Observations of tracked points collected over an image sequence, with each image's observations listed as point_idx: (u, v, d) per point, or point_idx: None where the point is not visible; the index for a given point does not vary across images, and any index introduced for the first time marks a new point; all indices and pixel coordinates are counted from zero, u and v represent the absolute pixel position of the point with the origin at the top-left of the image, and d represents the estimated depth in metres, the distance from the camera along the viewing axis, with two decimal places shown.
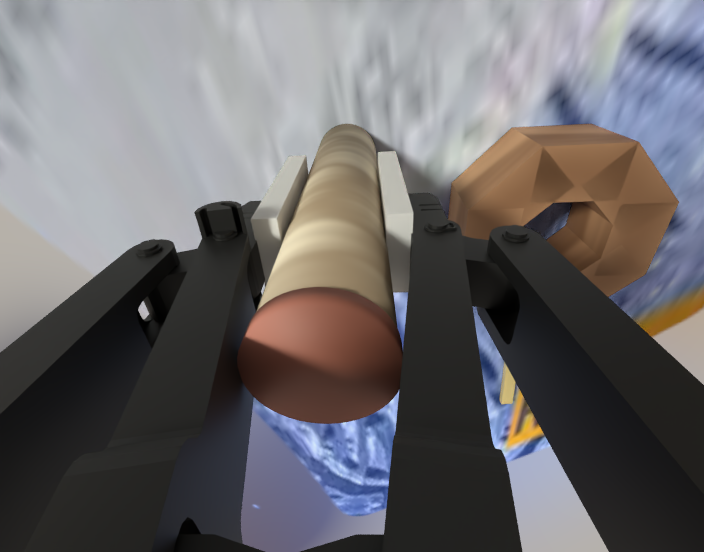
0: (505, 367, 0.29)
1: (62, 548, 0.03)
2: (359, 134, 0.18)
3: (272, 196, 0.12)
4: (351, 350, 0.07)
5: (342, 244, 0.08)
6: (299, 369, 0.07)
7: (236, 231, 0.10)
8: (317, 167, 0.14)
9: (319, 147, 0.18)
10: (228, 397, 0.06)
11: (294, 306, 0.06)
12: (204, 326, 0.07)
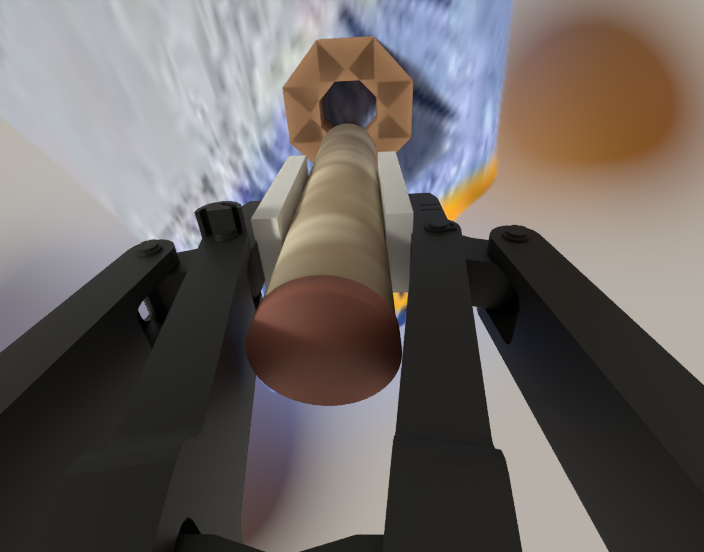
0: None
1: (62, 548, 0.03)
2: (359, 133, 0.19)
3: (272, 196, 0.12)
4: (352, 334, 0.07)
5: (343, 237, 0.09)
6: (303, 352, 0.08)
7: (236, 231, 0.10)
8: (319, 165, 0.15)
9: (320, 146, 0.19)
10: (228, 397, 0.06)
11: (299, 292, 0.07)
12: (204, 326, 0.07)
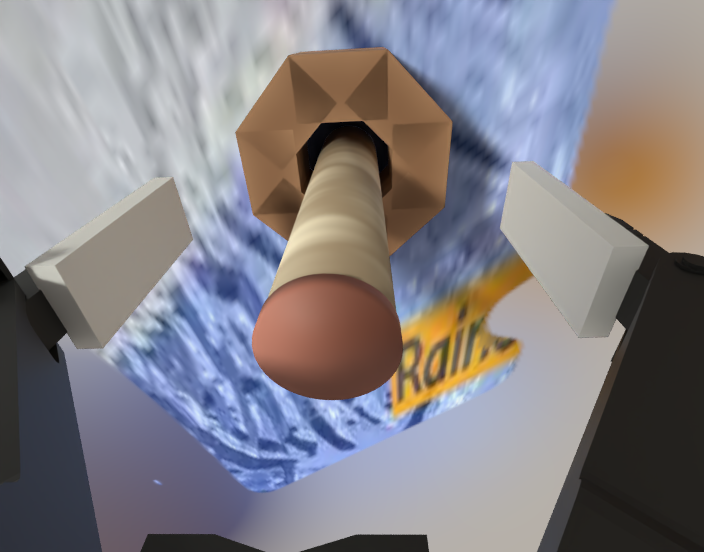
0: None
1: None
2: (360, 135, 0.19)
3: (81, 233, 0.10)
4: (355, 330, 0.08)
5: (346, 236, 0.09)
6: (307, 348, 0.08)
7: None
8: (321, 166, 0.15)
9: (322, 147, 0.19)
10: (46, 445, 0.06)
11: (304, 289, 0.07)
12: None
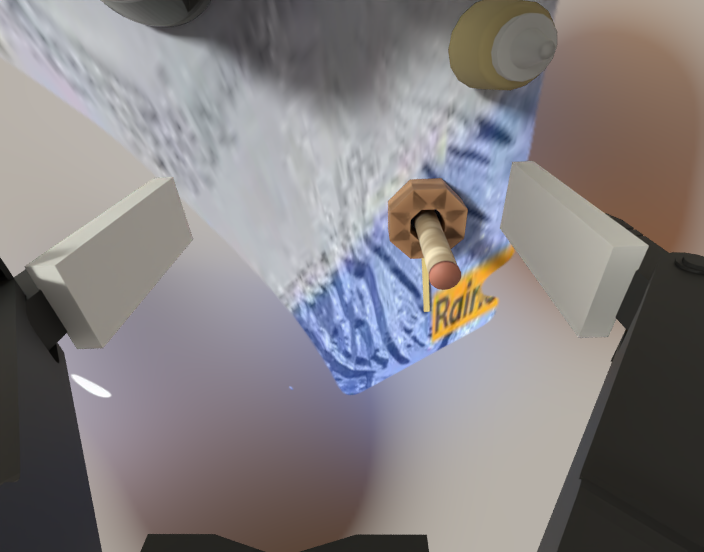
0: (423, 290, 0.59)
1: None
2: (431, 210, 0.50)
3: (81, 233, 0.10)
4: (451, 272, 0.38)
5: (446, 252, 0.40)
6: (441, 276, 0.39)
7: None
8: (425, 227, 0.46)
9: (417, 215, 0.50)
10: (46, 445, 0.06)
11: (443, 263, 0.38)
12: None
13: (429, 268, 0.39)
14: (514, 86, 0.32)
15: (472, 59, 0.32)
